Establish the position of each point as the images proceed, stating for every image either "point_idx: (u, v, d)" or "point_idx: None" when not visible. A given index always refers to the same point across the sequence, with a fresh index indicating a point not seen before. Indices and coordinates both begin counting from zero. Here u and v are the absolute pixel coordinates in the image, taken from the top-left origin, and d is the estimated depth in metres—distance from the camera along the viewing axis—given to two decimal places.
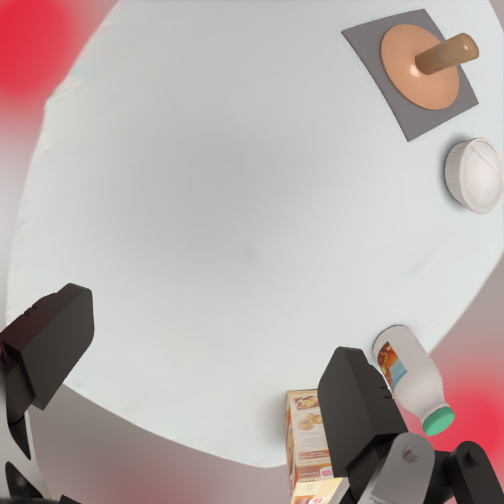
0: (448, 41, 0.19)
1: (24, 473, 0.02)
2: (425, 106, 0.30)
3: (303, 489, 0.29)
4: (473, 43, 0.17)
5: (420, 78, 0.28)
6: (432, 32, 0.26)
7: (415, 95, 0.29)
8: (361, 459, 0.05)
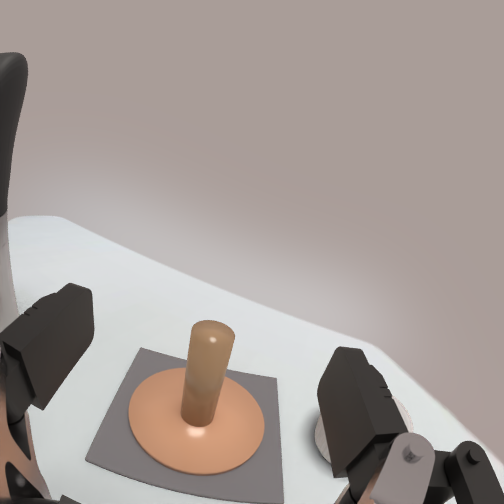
0: (190, 358, 0.21)
1: (24, 473, 0.02)
2: (249, 454, 0.21)
3: None
4: (214, 324, 0.22)
5: (210, 434, 0.23)
6: (169, 367, 0.31)
7: (227, 458, 0.21)
8: (361, 459, 0.05)
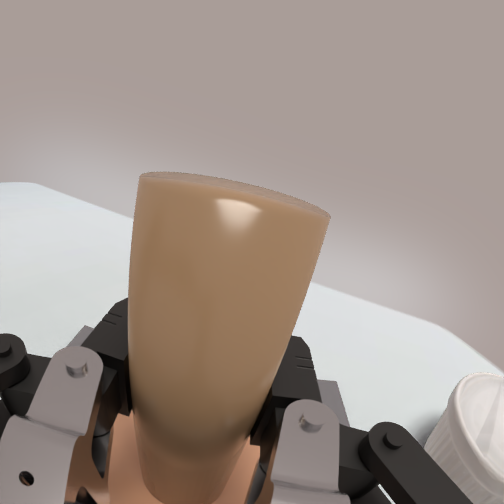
0: (131, 314, 0.05)
1: (93, 493, 0.03)
2: None
3: None
4: (234, 183, 0.06)
5: None
6: None
7: None
8: (266, 423, 0.06)
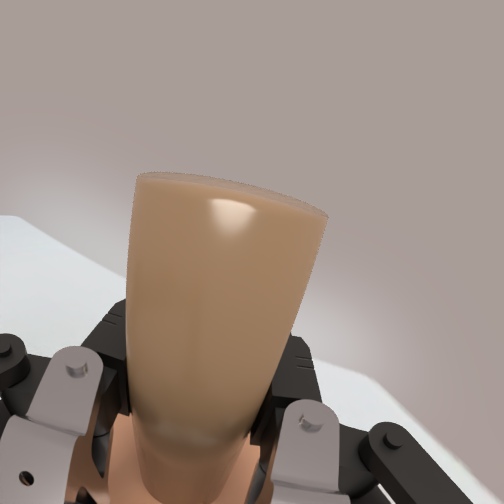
0: (129, 314, 0.05)
1: (93, 494, 0.03)
2: None
3: None
4: (232, 183, 0.06)
5: None
6: None
7: None
8: (266, 423, 0.06)
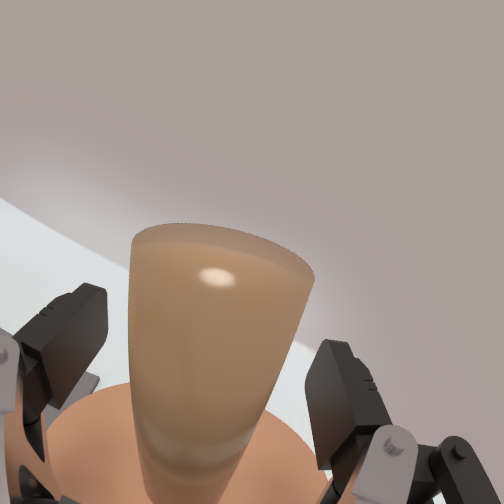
0: (131, 361, 0.05)
1: (37, 476, 0.03)
2: None
3: None
4: (226, 234, 0.06)
5: None
6: None
7: None
8: (343, 451, 0.05)
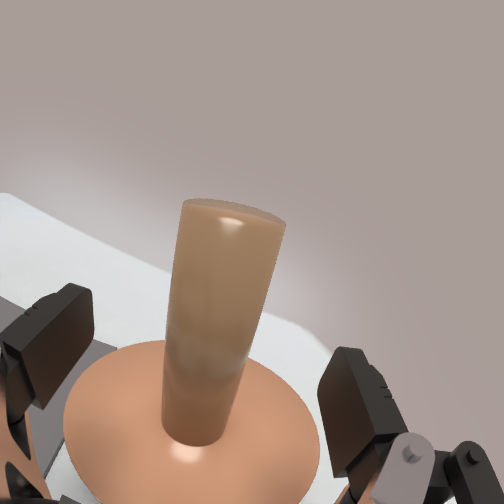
0: (176, 279, 0.09)
1: (24, 473, 0.02)
2: (299, 497, 0.09)
3: None
4: (234, 205, 0.10)
5: (219, 461, 0.11)
6: (7, 314, 0.21)
7: None
8: (361, 459, 0.05)
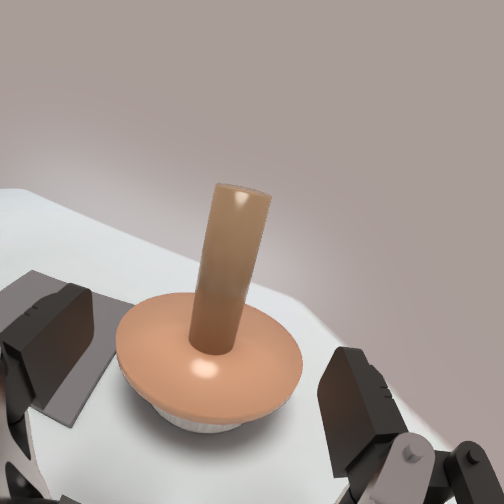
0: (211, 226, 0.16)
1: (24, 473, 0.02)
2: (288, 392, 0.17)
3: None
4: (243, 187, 0.18)
5: (230, 364, 0.18)
6: (45, 284, 0.28)
7: (257, 395, 0.16)
8: (361, 459, 0.05)
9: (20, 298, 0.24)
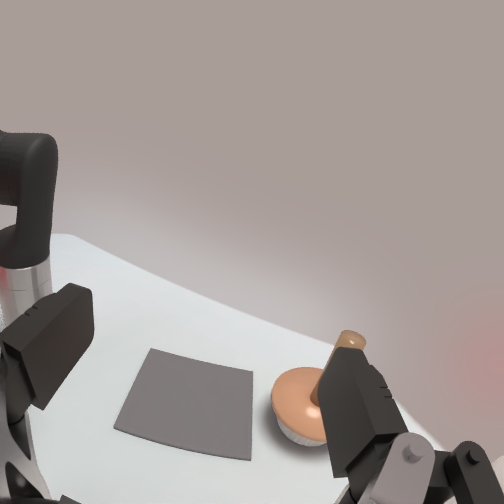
0: None
1: (24, 473, 0.02)
2: None
3: None
4: (350, 332, 0.32)
5: None
6: (172, 362, 0.43)
7: None
8: (361, 459, 0.05)
9: (160, 378, 0.39)
